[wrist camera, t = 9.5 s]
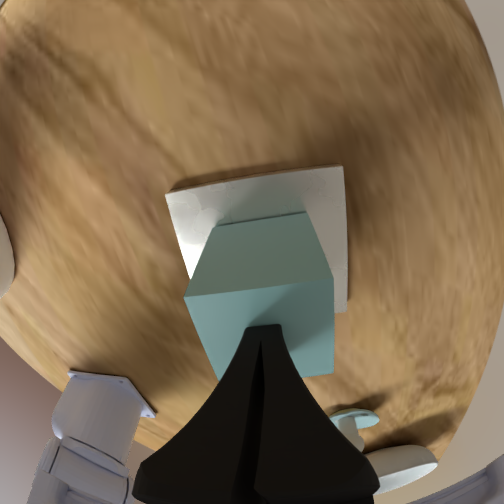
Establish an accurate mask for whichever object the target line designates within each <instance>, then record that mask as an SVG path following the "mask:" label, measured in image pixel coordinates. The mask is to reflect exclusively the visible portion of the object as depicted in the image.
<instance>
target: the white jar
mask: <svg viewBox="0 0 504 504" xmlns="http://www.w3.org/2000/svg"><path fill="white" fill-rule="evenodd" d="M14 267H15V264H14V257H13V251H12V246H11V243H10V239H9V236H8V233H7V229H6V227H5V225H4V222H3V220H2V218H1V215H0V299H1V298H2V297H3V296H4V295H5V294H6V293H7V292H8V290H9V288H10V286H11V284H12V281H13V279H14Z"/></svg>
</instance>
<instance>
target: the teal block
mask: <svg viewBox="0 0 504 504" xmlns="http://www.w3.org/2000/svg"><path fill="white" fill-rule="evenodd" d="M183 298H184V300H185V303H186V305H187V308H188V311H189V313H190V316H191V318H192V321H193V323H194V325H195V328H196V330H197V333H198V335H199V338H200V340H201V342H202V345H203V347H204V349H205V352H206V354H207V356H208V358H209V361H210V363H211V365H212V367H213V370H214V372H215V374H216V376H217V378H218V381H220V379H221V378H222V376H223V375H224V373H225V371H226V369H227V368H228V366H229V364H230V362H231V360H232V358H233V356H234V354H235V352H236V350H237V348H238V345H239V343H240V341H241V338H242V336H243V333H244V330H245V329H246V328H247V327H252V326H262V325H271V324H280V325H281V326H282V333H283V337H284V341H285V344H286V346H287V349H288V352H289V354H290V356H291V358H292V360H293V363H294V365H295V367H296V369H297V371H298V373H299V374H300V376H301V378H303V377H310V376H317V375H324V374H330V373H333V371H334V277H333V275H332V272H331V269H330V267H329V264H328V262H327V259H326V256H325V254H324V251H323V249H322V246H321V244H320V241H319V239H318V237H317V234H316V232H315V229H314V227H313V224H312V222H311V220H310V217H309V215H308V213H303V214H296V215H289V216H282V217H275V218H269V219H262V220H256V221H250V222H243V223H237V224H231V225H225V226H219V227H213V228H212V230H211V232H210V234H209V237H208V239H207V241H206V244H205V246H204V248H203V251H202V253H201V255H200V258H199V260H198V262H197V265H196V267H195V270H194V272H193V275H192V277H191V279H190V282H189V284H188V287H187V289H186V292H185V294H184V297H183Z"/></svg>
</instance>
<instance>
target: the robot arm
mask: <svg viewBox="0 0 504 504" xmlns="http://www.w3.org/2000/svg"><path fill="white" fill-rule="evenodd" d="M68 375H69V376H70V377H71V379H70V380H69V382H68V384H67V386H66V388H65V390H64V392H63V393H62V395H61V398H60V399H59V401H58V403H57V405H56V407H55V409H54V411H53V415H52V428H53V431H54V433H55V435H56V437H52V438H49V440H48V442H47V444H46V447H45V449H44V451H43V454H42V456H41V458H40V461H39V463H38V466H37V469H36V472H35V478H34V480H33V483H32V489H31V492H30V495H29V498H28V501H27V504H134V502H135V499H137V500H139V501H141V502H144V503H146V504H374V499H373V494H374V493H375V492H377V491H378V489H379V488H380V482H379V479H378V476H377V474H376V472H375V470H374V468H373V466H372V465H371V463H370V461H369V460H368V458H367V457H366V456H365V455H364V454H363V453H362V452H360V451H359V450H358V449H357V448H356V447H355V446H354V445H353V444H352V443H351V442H350V441H349V440H348V439H347V438H346V437H345V436H344V435H343V434H342V433H341V432H340V431H339V429H338V428H337V427H336V426H335V425H334V423H333V422H332V421H331V420H330V419H329V417H328V416H327V415H326V414H325V413H324V411H323V410H322V409H321V407H320V406H319V405H318V403H317V402H316V400H315V399H314V397H313V396H312V394H311V393H310V391H309V390H308V388H307V387H306V385H305V383H304V382H303V380H302V378H301V376H300V374H299V373H298V371H297V369H296V367H295V365H294V363H293V360H292V358H291V356H290V354H289V352H288V349H287V346H286V344H285V341H284V337H283V333H282V326H281V325H280V324H271V325H262V326H252V327H247V328H246V329H245V330H244V333H243V336H242V338H241V341H240V343H239V345H238V348H237V350H236V352H235V354H234V356H233V358H232V360H231V362H230V364H229V366H228V368H227V369H226V371H225V373H224V375H223V376H222V378H221V379H220V381H219V383H218V384H217V386H216V388H215V389H214V391H213V392H212V393H211V395H210V396H209V398H208V399H207V400H206V402H205V403H204V404H203V406H202V407H201V408H200V409H199V411H198V412H197V413H196V414H195V415H194V416H193V418H192V419H191V420H190V421H189V422H188V423H187V424H186V425H185V426H184V427H183V428H182V429H181V430H180V431H179V432H178V433H177V434H176V435H175V436H174V437H173V438H172V439H171V440H170V441H168V442H167V443H166V444H165V445H164V446H163V447H161V448H160V449H159V450H157V451H156V452H155V453H153V454H152V455H151V456H149V457H148V458H147V459H146V460H144V461H143V462H141V464H140V467H139V469H138V471H137V474H136V478H135V481H133V478H132V477H131V476H130V475H129V474H128V473H129V470H130V469H129V468H127V467H125V465H126V462H127V458H128V455H129V452H130V448H131V445H132V442H133V438H134V435H135V432H136V429H137V426H138V423H139V419H140V416H142V417H150V418H155V417H156V414H155V412H154V411H153V410H152V409H151V408H150V406H149V405H148V404H147V403H146V401H145V400H144V399H143V398H142V396H141V395H140V394H139V392H138V391H137V390H136V388H135V387H134V386H133V384H132V383H131V382H130V380H129V379H128V378H126V377H119V376H109V375H100V374H92V373H84V372H77V371H70V370H69V371H68ZM407 504H504V454H503V455H502V456H500V457H498V458H497V459H496V460H494V461H493V462H491V463H490V464H489V465H487V467H486V468H484V469H482V470H480V471H479V472H477V473H475V474H473V475H472V476H470V477H468V478H466V479H464V480H462V481H460V482H458V483H456V484H454V485H452V486H450V487H447V488H445V489H443V490H441V491H438V492H436V493H434V494H431V495H429V496H426V497H424V498H421V499H419V500H416V501H413V502H410V503H407Z"/></svg>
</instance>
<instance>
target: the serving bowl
mask: <svg viewBox="0 0 504 504" xmlns="http://www.w3.org/2000/svg"><path fill="white" fill-rule="evenodd" d="M365 456H366V457H367V458H368V460H369V461H370V463H371V465H372V466H373V468H374V470H375V472H376V474H377V476H378V479H379V482H380V488H379V489H378V491H377V492H375V493H374V494H373V495H377V494H380V493H384V492H387V491H390V490H393V489H396V488H399V487H401V486H404V485H406V484H409V483H411V482H413V481H415V480H417V479H419V478H421V477H422V476H424V475H426V474H428V473H429V472H431V471H432V470H433V469H435V468H436V467H437V465H438V461H437V459H436V458H435V456H434V454H433V453H432V452H431V451H430V450H429V449H427V448H425V447H422V446H418V445H404V446H397V447H389V448H384V449H380V450H376V451H373V452H370V453H368V454H365Z"/></svg>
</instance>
